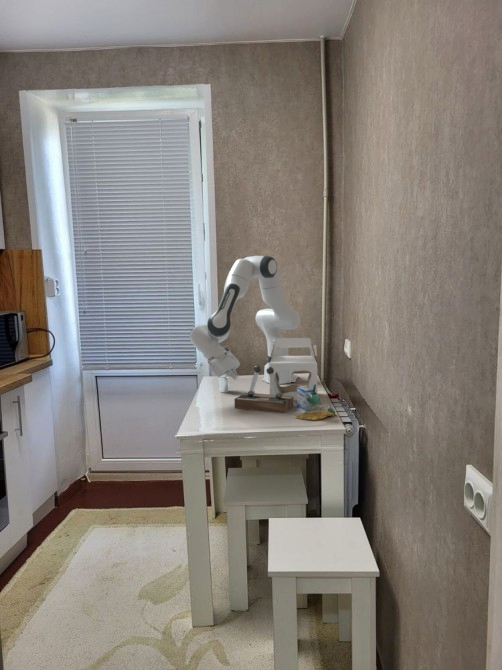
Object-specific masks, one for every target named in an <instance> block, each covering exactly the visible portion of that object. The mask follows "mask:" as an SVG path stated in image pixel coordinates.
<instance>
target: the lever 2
mask: <svg viewBox="0 0 502 670" xmlns="http://www.w3.org/2000/svg"><path fill="white" fill-rule="evenodd" d="M273 372H274V369H273V368H272V367H268V368H267V373H268V374H269V376H270V379H271V381H272V384H273V387H274V390H275V392H276V398H277V399H280V398H281V397H282V396H283V394H282V393H281V392H280V389H279V387H278V384H277V381H276V378H275V375H274V373H273Z"/></svg>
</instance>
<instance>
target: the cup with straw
mask: <svg viewBox="0 0 502 670" xmlns="http://www.w3.org/2000/svg"><path fill="white" fill-rule="evenodd" d="M216 378H217V381H218V388H219V392H220V393H228V392H230V381H231V380H230V379H231V377H230V376H229V375H227V373H226V374H224V375H222V376H220V377H218V376H216Z"/></svg>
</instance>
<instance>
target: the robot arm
mask: <svg viewBox="0 0 502 670" xmlns="http://www.w3.org/2000/svg"><path fill="white" fill-rule="evenodd" d="M280 277H281V276H280V274H279V271H278V264H277V261H276V260H275V258H274V257H272V256H269V255H265V256H264V255H253V256H252V255H251V256H243V257H240V258H237V260H235V262H234V263H233V264H232V267H231V269H230V270H229V272H228V274H227V277H226V279H225V281H224V282H225V283H224V286H223V288H224V289H223V295H222V298H221V299H220V302H219V304H218V307H217V309H216V311H214V312H213V313H212V314H211V315H210V316H209V317H208V319H207V323H206V324H197V325H195V326H194V327H193V328H192V329H191V331H190V333H189V340H190V342H191V343H192V344H193V346H194V347H195V348H196V350H197V351H199V352H200V353H201V354H202V355H203V357H204V359H205V360H207V363H208V366H209V368H210V369H211V371H212V372H213V373H214V374H215V376H216V377H217V376H218V377H220V376H222V375H224V374H226V373H227V375H229V376H230V378H232V379H233V380H237V379H238V378H239V377H240V375H239V373H238V372H237V369H238V368H239V366H241V363H240V361H239V360H238V358H237V357H236V356H235V354H233V353H232V352H231V349H230V348H228V347H224V346H221V344H220V343H222V342H223V341H225V340H227V339H228V337H229V336H230V330H231V329H230V328H231V325H232V324H231V314H232V312H233V309H234V307H235V304H236V303H237V301H238V300H239V299H242V298H243V297H244V296H245V294H246V292H247V291H248V289H249V287H250V283H251V281H252V279H258V282H259V283H258V285H259V288H260V293H261V298H262V301H263V303H265V304H266V305H267V306H269V308H263V309H260V310H258V311H257V312H256V315H255V323H256V326H257V327H259V328H260V329H261V331H262V332H263V334H264V336H265V339H266V345H267V346H266V347H267V355H266V362H267V363H266V364H265V365H264V373H263V374H264V375H263V376H264V377H262V378H261V381H263V382H265V383H268V384H269V374H268V373H267V368H268V367H269V362H270V358H271V357H272V356H269V351H270V345H272V346H274V344H275V339H276V338H286V337H285V336H283V334H282V333H281V331H291V330H296V329H298V327H299V326H300V324H301V316H300V313H299V312H298V311H297V310H295V309H294V308H293V307H292V306H291V305H290V304H289V302H288V301H287V299H286V296H285V295H284V294H285V293H284V291H283V285H282V282H281V281H282V280H281V278H280ZM276 356H291V354H289V348H277V349H276ZM294 372H295V371H290V370H279V371H277V373H278V376H279V385H286V384H290V383H291V382H294V383H296V382H297V380H298V376H299V375H298V374H295V373H294ZM218 377H217V378H218ZM296 379H297V380H296ZM291 384H292V383H291Z"/></svg>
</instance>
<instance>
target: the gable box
mask: <svg viewBox="0 0 502 670" xmlns="http://www.w3.org/2000/svg"><path fill="white" fill-rule="evenodd" d="M277 348H288V349H291V348H292V349H293V348H295V349H297V348H298V349H299V348H300V349H301V348H303V349H309V352H310V354H309V355H290V356H276V349H277ZM269 356H272V357H271V358H270V362H269V367H272V368H273V369H274V372H273V373H274V375H275V378H276V381H277V384H278V387H279V389H280V392H281V393H282V394H283V396H293V401H297V387H301V385H297V384H291V385H285V386H281V385H280V384H279V376H278V373H277V371H279V370H290V371H294V372H301V371H302V372H303V371H307V372H309V374H308V377H307V383H308V384H307V385H306V387H308V388H310V389H312V390H313V386H314V384H316V389H315V392H316V393H317V394H318V360H317V357H318V351H317V344H313V343H312V340H311V338H310V337H285V338H276V339H275V344H274V346H272V345H270V351H269ZM268 384H269V386H268V387H269V394H270V395H276V392H275V390H274V387H273V384H272V381H271V379H270V376H269V383H268Z"/></svg>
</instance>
